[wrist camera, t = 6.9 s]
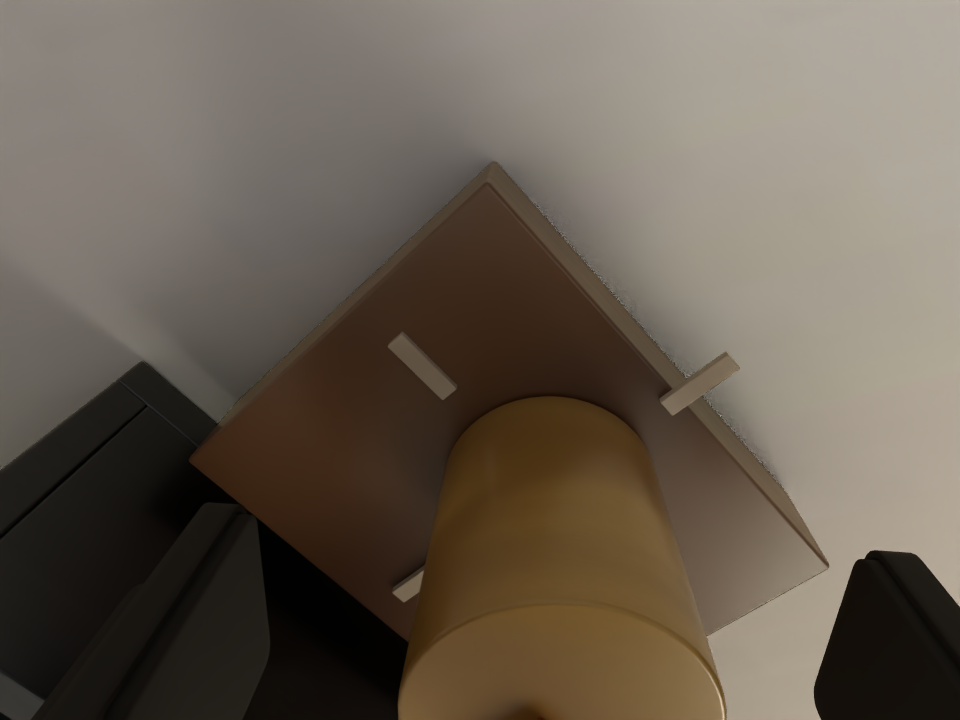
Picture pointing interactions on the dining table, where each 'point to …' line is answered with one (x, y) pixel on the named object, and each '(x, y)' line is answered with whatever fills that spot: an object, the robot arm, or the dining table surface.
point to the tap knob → (555, 580)
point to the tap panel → (473, 393)
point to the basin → (141, 546)
